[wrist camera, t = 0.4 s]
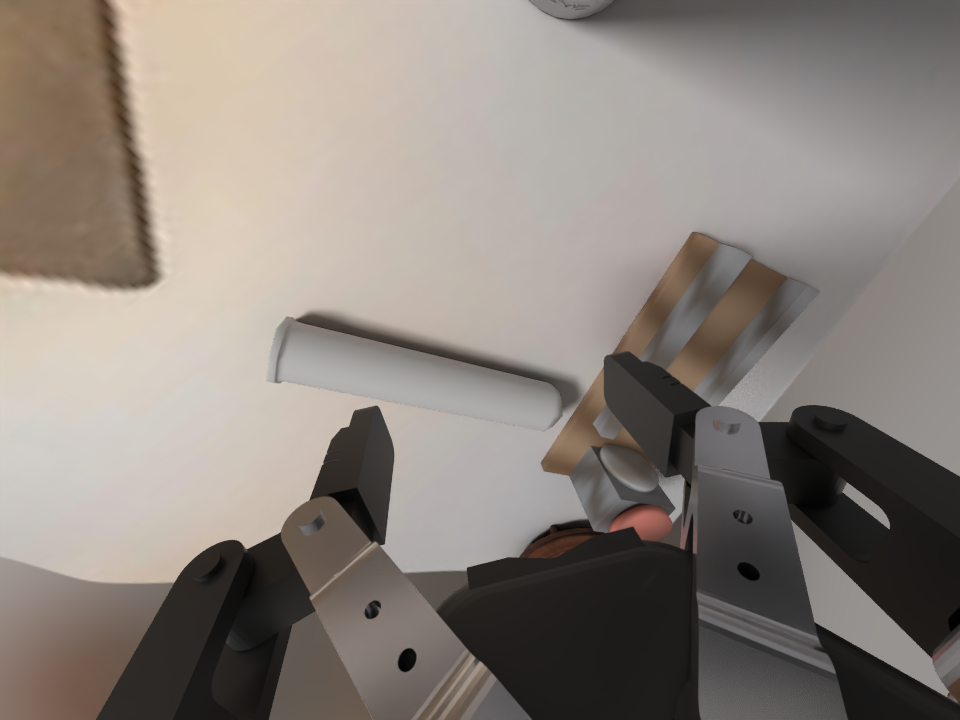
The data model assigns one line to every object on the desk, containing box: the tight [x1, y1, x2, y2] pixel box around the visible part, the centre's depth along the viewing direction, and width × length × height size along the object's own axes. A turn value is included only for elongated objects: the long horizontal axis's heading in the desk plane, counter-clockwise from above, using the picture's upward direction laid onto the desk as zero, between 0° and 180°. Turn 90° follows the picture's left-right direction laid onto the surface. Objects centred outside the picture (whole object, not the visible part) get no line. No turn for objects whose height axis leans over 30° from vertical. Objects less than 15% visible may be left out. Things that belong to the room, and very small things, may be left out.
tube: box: [266, 316, 562, 431], centre depth 30 cm, size 5×5×25 cm
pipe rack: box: [541, 232, 820, 542], centre depth 32 cm, size 28×14×10 cm, turn 158°
